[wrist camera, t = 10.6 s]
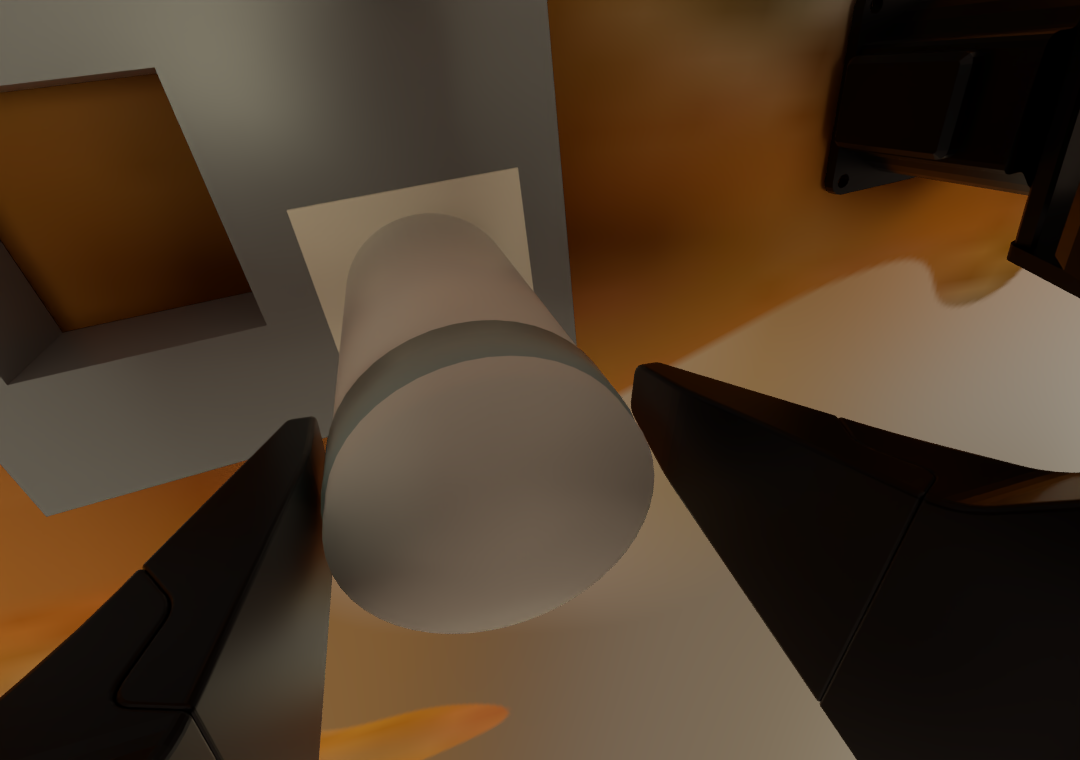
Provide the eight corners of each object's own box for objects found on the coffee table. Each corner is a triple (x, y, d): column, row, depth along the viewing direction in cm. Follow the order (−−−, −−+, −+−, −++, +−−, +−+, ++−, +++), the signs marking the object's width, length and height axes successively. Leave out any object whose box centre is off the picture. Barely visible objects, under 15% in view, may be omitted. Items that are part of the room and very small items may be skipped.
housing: (465, -355, 11) (507, -487, 8) (546, 329, 19) (579, 367, 17) (-543, -405, 8) (-992, -653, 5) (89, 449, 16) (44, 519, 13)
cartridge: (403, 172, 12) (453, 299, 5) (546, 273, 15) (716, 457, 7) (310, 323, 13) (248, 598, 6) (456, 395, 16) (531, 657, 9)
